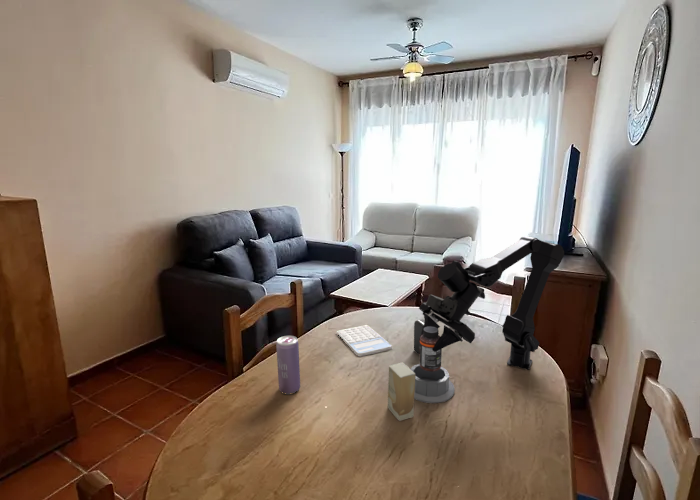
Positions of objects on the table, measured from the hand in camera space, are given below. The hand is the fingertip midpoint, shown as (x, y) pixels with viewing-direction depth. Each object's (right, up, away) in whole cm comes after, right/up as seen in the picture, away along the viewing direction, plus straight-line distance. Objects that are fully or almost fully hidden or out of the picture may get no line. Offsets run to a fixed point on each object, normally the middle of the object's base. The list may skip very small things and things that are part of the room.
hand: (426, 345), depth 105 cm
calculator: (-16, -7, +33) cm, 38 cm away
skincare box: (-8, -15, -7) cm, 19 cm away
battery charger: (+3, -9, +23) cm, 25 cm away
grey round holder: (+1, -13, +3) cm, 13 cm away
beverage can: (-38, -13, +4) cm, 40 cm away
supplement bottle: (+1, -6, +2) cm, 7 cm away
